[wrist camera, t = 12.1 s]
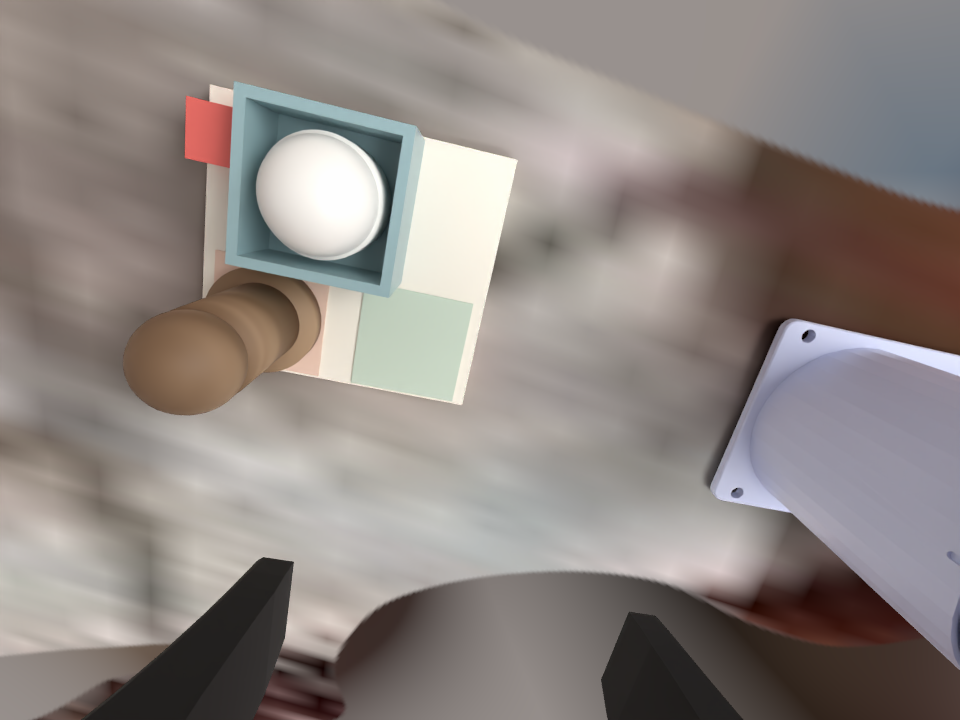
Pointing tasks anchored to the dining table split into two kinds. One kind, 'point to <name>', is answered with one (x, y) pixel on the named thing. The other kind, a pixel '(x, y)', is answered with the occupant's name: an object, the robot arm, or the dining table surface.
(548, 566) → the dining table surface
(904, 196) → the dining table surface
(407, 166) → the dome housing
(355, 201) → the dome
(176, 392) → the pawn
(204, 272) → the game board
